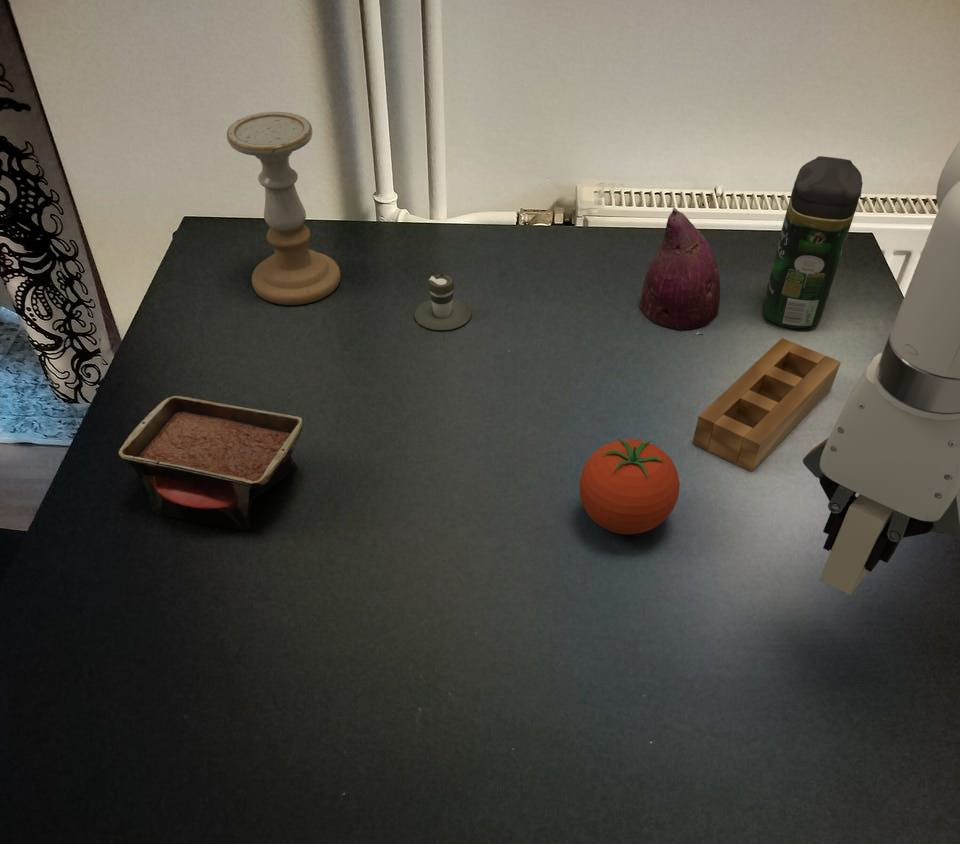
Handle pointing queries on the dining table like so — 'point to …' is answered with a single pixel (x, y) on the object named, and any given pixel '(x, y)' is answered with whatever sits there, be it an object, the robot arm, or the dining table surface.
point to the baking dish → (210, 458)
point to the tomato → (629, 486)
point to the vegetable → (682, 278)
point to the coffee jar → (812, 241)
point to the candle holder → (284, 211)
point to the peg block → (765, 404)
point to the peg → (855, 543)
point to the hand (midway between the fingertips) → (854, 549)
